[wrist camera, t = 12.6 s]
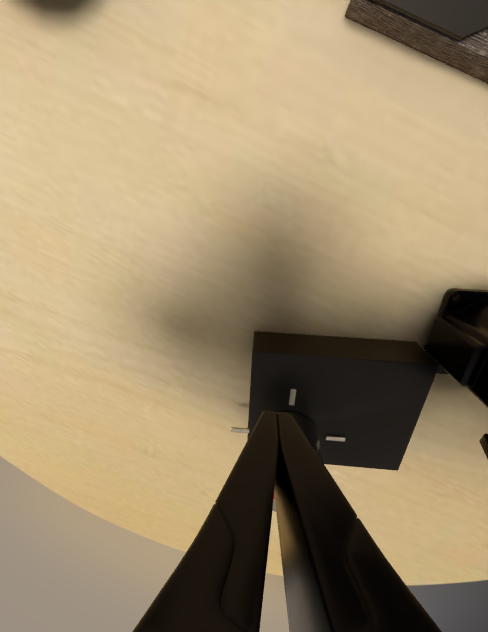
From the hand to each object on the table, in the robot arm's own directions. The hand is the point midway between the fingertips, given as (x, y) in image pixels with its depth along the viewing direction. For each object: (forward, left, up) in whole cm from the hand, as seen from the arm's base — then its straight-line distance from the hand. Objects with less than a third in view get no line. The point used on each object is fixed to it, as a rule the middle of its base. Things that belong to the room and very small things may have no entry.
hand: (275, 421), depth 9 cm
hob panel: (-5, +8, -12) cm, 15 cm away
